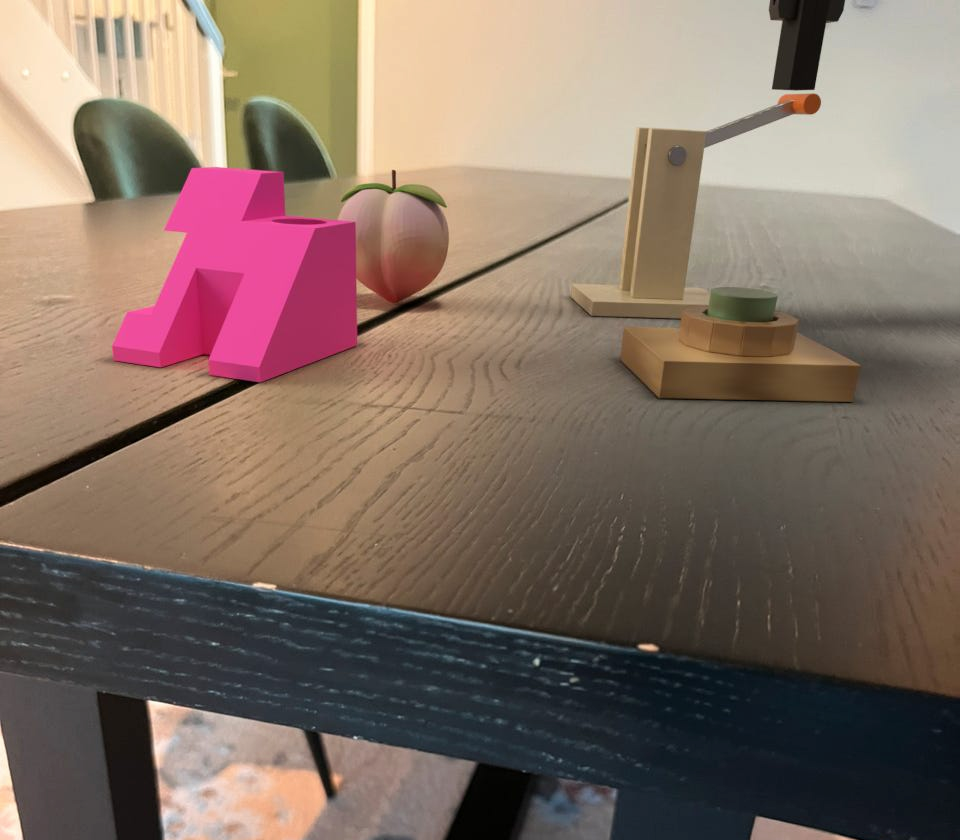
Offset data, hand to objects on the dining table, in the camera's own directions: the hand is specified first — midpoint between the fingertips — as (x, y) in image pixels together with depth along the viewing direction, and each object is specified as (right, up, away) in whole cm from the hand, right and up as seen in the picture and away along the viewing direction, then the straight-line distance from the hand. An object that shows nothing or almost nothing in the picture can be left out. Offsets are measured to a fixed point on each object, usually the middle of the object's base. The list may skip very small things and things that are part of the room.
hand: (792, 89), depth 56 cm
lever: (+2, +8, +23) cm, 24 cm away
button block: (-2, -15, +6) cm, 16 cm away
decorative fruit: (-25, -4, +25) cm, 36 cm away
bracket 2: (-4, -3, +28) cm, 29 cm away
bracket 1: (-33, -13, +6) cm, 37 cm away
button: (-2, -12, +4) cm, 13 cm away
